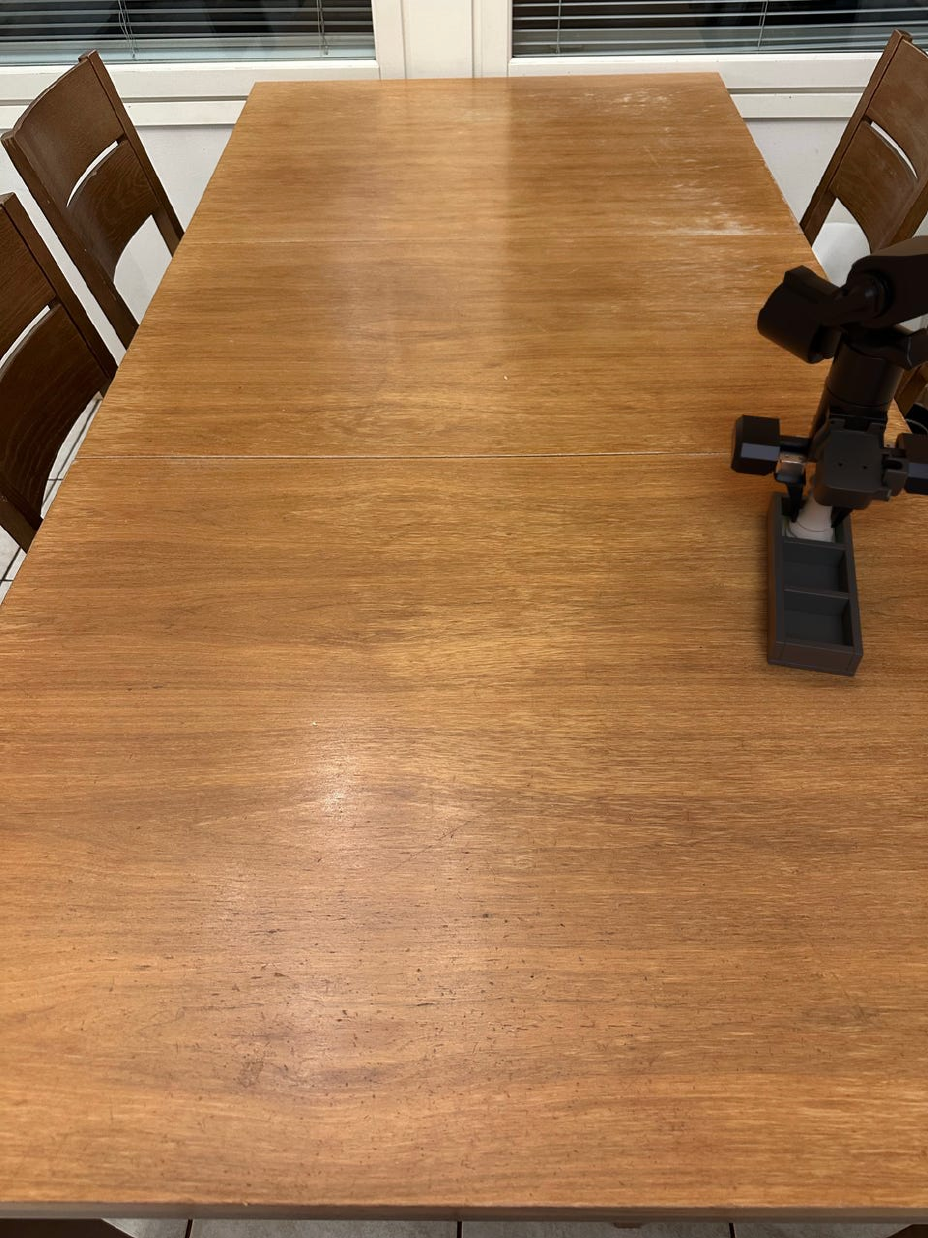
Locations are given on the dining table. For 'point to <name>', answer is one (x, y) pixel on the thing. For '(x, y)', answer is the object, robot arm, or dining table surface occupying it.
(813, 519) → the rook chess piece
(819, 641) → the rack
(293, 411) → the dining table surface
